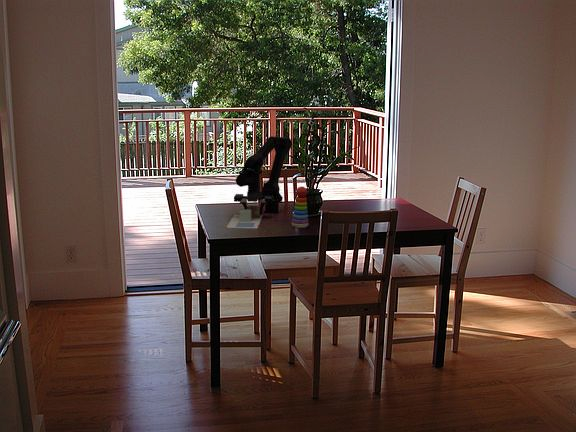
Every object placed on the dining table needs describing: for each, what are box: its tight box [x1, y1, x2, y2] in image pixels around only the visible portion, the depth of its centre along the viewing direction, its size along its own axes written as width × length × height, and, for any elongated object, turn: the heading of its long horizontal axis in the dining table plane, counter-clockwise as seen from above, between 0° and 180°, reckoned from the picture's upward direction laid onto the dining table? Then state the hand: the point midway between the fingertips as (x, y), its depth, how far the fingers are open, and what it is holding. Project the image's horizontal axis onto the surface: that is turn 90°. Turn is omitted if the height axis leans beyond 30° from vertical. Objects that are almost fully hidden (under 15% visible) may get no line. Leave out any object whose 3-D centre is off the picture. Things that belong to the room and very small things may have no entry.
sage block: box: [239, 208, 252, 222], centre depth 325 cm, size 5×5×5 cm
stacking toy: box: [291, 186, 309, 229], centre depth 318 cm, size 8×8×19 cm
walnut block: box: [247, 205, 261, 219], centre depth 333 cm, size 6×6×5 cm
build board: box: [225, 214, 263, 229], centre depth 325 cm, size 14×27×1 cm, turn 176°
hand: (253, 215), depth 333 cm, fingers closed on walnut block, 6 cm apart
